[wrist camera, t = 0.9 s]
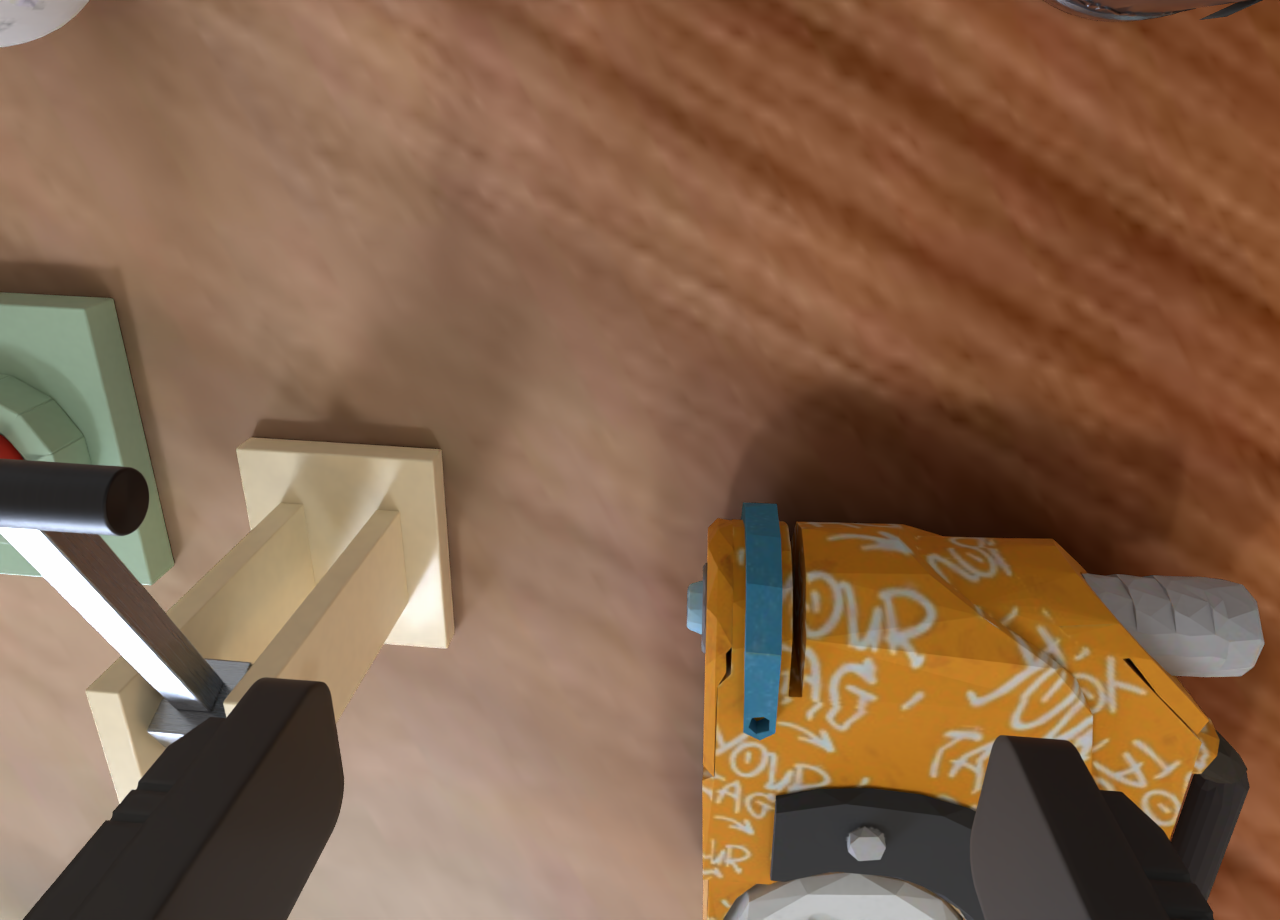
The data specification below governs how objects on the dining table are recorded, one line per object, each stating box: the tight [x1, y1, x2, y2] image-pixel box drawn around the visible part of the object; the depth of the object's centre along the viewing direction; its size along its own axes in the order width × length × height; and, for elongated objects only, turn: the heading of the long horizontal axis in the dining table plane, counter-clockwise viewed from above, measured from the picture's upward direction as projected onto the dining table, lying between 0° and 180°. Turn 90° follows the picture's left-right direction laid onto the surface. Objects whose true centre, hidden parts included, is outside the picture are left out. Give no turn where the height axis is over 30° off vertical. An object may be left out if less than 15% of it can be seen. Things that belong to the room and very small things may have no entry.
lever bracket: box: [86, 437, 455, 804], centre depth 30 cm, size 9×8×13 cm
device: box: [687, 502, 1264, 920], centre depth 35 cm, size 23×8×30 cm
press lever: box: [0, 458, 253, 748], centre depth 22 cm, size 13×5×2 cm, turn 178°
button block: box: [0, 292, 174, 585], centre depth 34 cm, size 12×9×4 cm
